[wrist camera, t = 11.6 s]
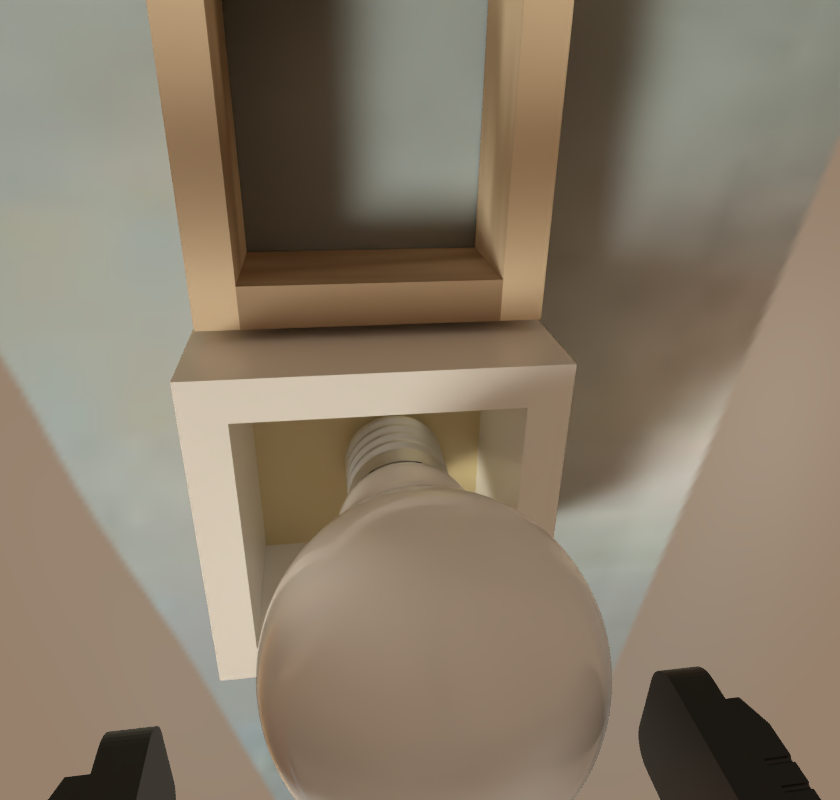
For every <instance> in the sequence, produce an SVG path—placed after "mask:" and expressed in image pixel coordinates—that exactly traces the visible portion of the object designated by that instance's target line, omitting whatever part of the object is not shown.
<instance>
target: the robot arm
mask: <svg viewBox="0 0 840 800" xmlns="http://www.w3.org/2000/svg"><path fill="white" fill-rule="evenodd" d="M639 745H640V751H641V755H642V758H643V762H644V765H645V767H646V769H647V771H648V774H649V776H650V778H651V780H652V782H653V784H654V787H655V789H656V791H657V793H658V795H659V797H660V800H821V799H820V798H819V796H818V795H817V793H816V792H815V790H814V789H811V788H810V786H809V781H808V780H807V778H806V777H805V776H804V774H803V773H802V771H801V770H800V768H799V767H798V765H797V764H796V762H792V760H791V755H790V753H789V752H788V750H787V749H786V748H785V746H784V745H783V743H782V742H781V740H780V739H779V737H778V736H777V734H776V733H775V731H774V730H773V728H772V727H771V725H770V724H769V723H768V722H767V721H766V720H765V719H763V718H762V717H761V716H760V715H759V714H758V713H756V712H755V711H754V710H753V709H752V708H751V707H749V706H748V705H747V704H746V703H745V702H744V701H742V700H741V699H740V698H738V697H737V698H729V699H725V697H724V696H723V694H722V693H721V691H720V690H719V688H718V686H717V685H716V683H715V682H714V680H713V679H712V677H711V676H710V674H709V673H708V672H707V671H706V670H704V669H703V668H701V667H689V668H681V669H672V670H663V671H657V672H655V673H654V675H653V677H652V680H651V684H650V688H649V692H648V696H647V699H646V703H645V707H644V711H643V714H642V718H641V722H640V726H639ZM48 800H176V794H175V785H174V781H173V776H172V772H171V768H170V764H169V760H168V757H167V753H166V748H165V744H164V740H163V736H162V732H161V730H160V728H159V727H158V726H155V727H147V728H137V729H129V730H120V731H111V732H107V733H106V734H105V735H104V736H103V738H102V740H101V742H100V745H99V748H98V751H97V755H96V758H95V761H94V764H93V768H92V771H91V774H89V775H81V776H72V777H65V778H64V779H63V780H62V782H61V783H60V784H59V786H58V787H57V788H56V790H55V791H54V793H53V794H52V795H51V797H50V798H49V799H48Z"/></svg>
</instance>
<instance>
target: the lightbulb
mask: <svg viewBox="0 0 840 800" xmlns="http://www.w3.org/2000/svg"><path fill="white" fill-rule="evenodd" d="M345 467H346V477H347V493H348V496H347V498H346V499H345V501H344V503H343V505H342V508H341V510H340V513H339V516H337V517H336V518H334V519H333V520H332V521H331V522H329V523H328V524H327V525H326V526H324V527H323V528H322V529H321V530H320V531H319V532H318V533H317V534H316V535H315V536H314V537H313V538H312V539H311V540H310V541H309V542H308V543H307V544H306V545H305V546H304V547H303V549H302V550H301V551H300V552H299V553H298V555H297V556H296V557H295V559H294V560H293V561H292V563H291V564H290V566H289V567H288V569H287V570H286V572H285V574H284V575H283V577H282V579H281V580H280V582H279V584H278V586H277V588H276V590H275V592H274V595H273V597H272V599H271V602H270V604H269V607H268V610H267V612H266V615H265V619H264V622H263V626H262V630H261V634H260V639H259V645H258V652H257V661H256V695H257V704H258V711H259V717H260V722H261V727H262V731H263V734H264V738H265V741H266V744H267V747H268V750H269V753H270V755H271V758H272V760H273V762H274V765H275V767H276V769H277V771H278V773H279V775H280V777H281V778H282V780H283V782H284V784H285V785H286V787H287V788H288V790H289V791H290V793H291V794H292V796H293V797H294V798H295V800H574V799H575V797H576V796H577V794H578V793H579V791H580V790H581V788H582V787H583V785H584V783H585V782H586V780H587V778H588V776H589V774H590V772H591V770H592V768H593V766H594V764H595V762H596V759H597V757H598V754H599V752H600V749H601V746H602V743H603V740H604V736H605V732H606V729H607V724H608V718H609V713H610V706H611V695H612V667H611V657H610V649H609V644H608V638H607V634H606V630H605V626H604V622H603V619H602V616H601V613H600V610H599V608H598V605H597V603H596V600H595V598H594V596H593V594H592V592H591V590H590V588H589V586H588V584H587V582H586V580H585V579H584V577H583V575H582V574H581V572H580V570H579V569H578V567H577V566H576V565H575V563H574V562H573V560H572V559H571V558H570V556H569V555H568V554H567V553H566V551H565V550H564V549H563V548H562V547H561V546H560V545H559V544H558V542H557V541H556V540H555V539H554V538H553V537H552V536H551V535H549V534H548V533H547V532H546V531H545V530H544V529H543V528H542V527H540V526H539V525H538V524H536V523H535V522H534V521H533V520H531V519H530V518H528V517H527V516H525V515H524V514H522V513H521V512H519V511H517V510H516V509H514V508H512V507H510V506H508V505H506V504H504V503H502V502H500V501H498V500H495V499H493V498H490V497H487V496H485V495H482V494H478V493H475V492H471V491H467V490H464V488H463V487H462V486H461V485H460V484H459V483H458V482H457V481H456V480H455V479H454V478H452V477H451V476H450V475H449V473H448V470H447V467H446V464H445V460H444V458H443V455H442V451H441V448H440V445H439V442H438V439H437V438H436V436H435V434H434V433H433V432H432V431H431V430H430V429H429V428H428V427H427V426H426V425H425V424H423V423H422V422H420V421H418V420H416V419H413V418H410V417H405V416H387V417H382V418H379V419H376V420H374V421H371V422H369V423H368V424H366V425H365V426H363V427H362V428H361V429H360V430H359V431H357V433H356V434H355V435H354V436H353V438H352V439H351V441H350V443H349V445H348V447H347V450H346V455H345Z"/></svg>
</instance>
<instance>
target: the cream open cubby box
mask: <svg viewBox="0 0 840 800" xmlns="http://www.w3.org/2000/svg"><path fill="white" fill-rule="evenodd" d="M576 367H577V364H576V363H575V361H574V360H573V359H572V358H571V357H570V356H569V355H568V354H567V352H566V351H565V350H564V349H563V348H562V347H561V346H560V344H559V343H558V342H557V341H556V340H555V339H554V338H553V336H552V335H551V334H550V333H549V332H548V331H547V330H546V328H545V327H544V326H543V325H542V324H541V323H540V322H539V320H509V321H481V322H452V323H424V324H395V325H366V326H338V327H309V328H281V329H252V330H224V331H195V332H194V329H193V331H192V333H191V336H190V338H189V340H188V342H187V345H186V347H185V349H184V352H183V354H182V356H181V359H180V361H179V363H178V366H177V368H176V370H175V373H174V375H173V377H172V379H171V382H170V384H171V390H172V396H173V402H174V408H175V414H176V420H177V426H178V432H179V438H180V444H181V450H182V456H183V462H184V468H185V474H186V480H187V486H188V492H189V497H190V503H191V509H192V515H193V521H194V527H195V533H196V539H197V545H198V551H199V557H200V563H201V569H202V575H203V581H204V587H205V593H206V599H207V605H208V611H209V617H210V623H211V629H212V634H213V640H214V646H215V652H216V658H217V664H218V670H219V676H220V681H223V680H232V679H242V678H251V677H256V661H257V652H258V645H259V639H260V634H261V630H262V626H263V622H264V619H265V615H266V612H267V610H268V607H269V604H270V602H271V599H272V597H273V595H274V592H275V590H276V588H277V586H278V584H279V582H280V580H281V579H282V577H283V575H284V574H285V572H286V570H287V569H288V567H289V566H290V564H291V563H292V561H293V560H294V559H295V557H296V556H297V555H298V553H299V552H300V551H301V550H302V549H303V547H304V546H305V545H306V544H307V543H308V542H309V541H310V540H311V539H312V538H313V537H314V536H315V535H316V534H317V533H318V532H319V531H320V530H321V529H322V528H323V527H324V526H326V525H327V524H328V523H329V522H331V521H332V520H333V519H334V518H336V517H337V516H339V513H340V510H341V508H342V505H343V503H344V501H345V499H346V498H347V496H348V493H347V477H346V467H345V455H346V450H347V447H348V445H349V443H350V441H351V439H352V438H353V436H354V435H355V434H356V433H357V431H359V430H360V429H361V428H362V427H363V426H365V425H366V424H368V423H369V422H371V421H374V420H376V419H379V418H382V417H387V416H405V417H410V418H413V419H416V420H418V421H420V422H422V423H423V424H425V425H426V426H427V427H428V428H429V429H430V430H431V431H432V432H433V433H434V434H435V436H436V438H437V439H438V442H439V445H440V448H441V451H442V455H443V458H444V460H445V464H446V467H447V470H448V473H449V475H450V476H451V477H452V478H454V479H455V480H456V481H457V482H458V483H459V484H460V485H461V486H462V487H463V488H464V490H467V491H471V492H475V493H478V494H482V495H485V496H487V497H490V498H493V499H495V500H498V501H500V502H502V503H504V504H506V505H508V506H510V507H512V508H514V509H516V510H517V511H519V512H521V513H522V514H524V515H525V516H527V517H528V518H530V519H531V520H533V521H534V522H535V523H536V524H538V525H539V526H540V527H542V528H543V529H544V530H545V531H546V532H547V533H548V534H549V535H551V536H552V537H554V530H555V522H556V515H557V508H558V500H559V493H560V485H561V478H562V470H563V463H564V456H565V448H566V441H567V433H568V426H569V419H570V411H571V404H572V396H573V389H574V382H575V374H576Z"/></svg>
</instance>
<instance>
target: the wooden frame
mask: <svg viewBox="0 0 840 800" xmlns="http://www.w3.org/2000/svg"><path fill="white" fill-rule="evenodd" d="M146 2H147V9H148V16H149V23H150V30H151V37H152V44H153V51H154V58H155V64H156V71H157V78H158V85H159V92H160V99H161V106H162V113H163V120H164V127H165V134H166V141H167V148H168V154H169V161H170V168H171V175H172V182H173V189H174V196H175V203H176V210H177V217H178V224H179V231H180V238H181V244H182V251H183V258H184V265H185V272H186V279H187V286H188V293H189V300H190V307H191V314H192V321H193V328H194V332H195V331H224V330H252V329H281V328H309V327H338V326H366V325H395V324H424V323H452V322H481V321H509V320H538V319H541V313H542V304H543V294H544V285H545V275H546V266H547V256H548V247H549V237H550V227H551V218H552V208H553V199H554V189H555V180H556V170H557V161H558V151H559V142H560V132H561V123H562V113H563V104H564V94H565V84H566V75H567V65H568V56H569V46H570V37H571V27H572V18H573V8H574V0H488V17H487V35H486V53H485V71H484V89H483V108H482V126H481V144H480V162H479V181H478V199H477V217H476V235H475V247H471V248H419V249H368V250H316V251H264V252H247V248H246V238H245V228H244V218H243V208H242V198H241V188H240V179H239V169H238V159H237V149H236V139H235V129H234V119H233V109H232V99H231V89H230V79H229V69H228V59H227V49H226V39H225V29H224V19H223V9H222V0H146Z"/></svg>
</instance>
